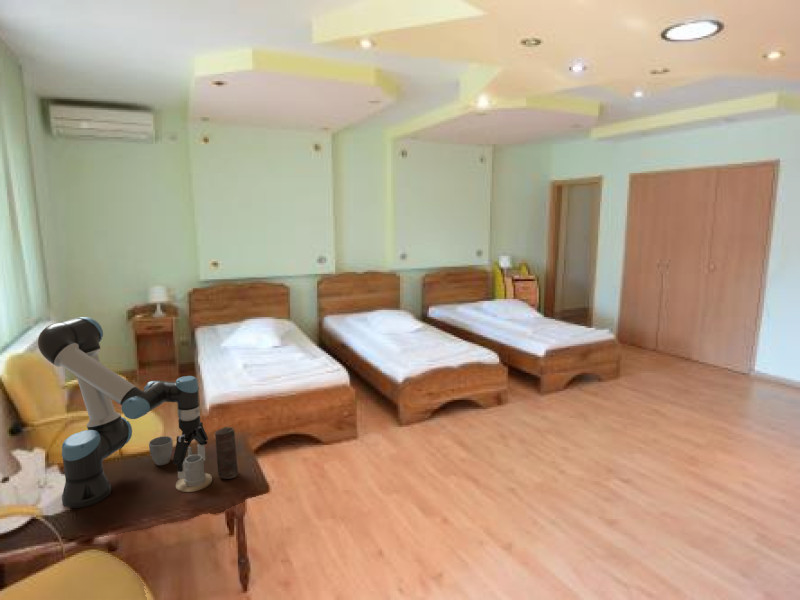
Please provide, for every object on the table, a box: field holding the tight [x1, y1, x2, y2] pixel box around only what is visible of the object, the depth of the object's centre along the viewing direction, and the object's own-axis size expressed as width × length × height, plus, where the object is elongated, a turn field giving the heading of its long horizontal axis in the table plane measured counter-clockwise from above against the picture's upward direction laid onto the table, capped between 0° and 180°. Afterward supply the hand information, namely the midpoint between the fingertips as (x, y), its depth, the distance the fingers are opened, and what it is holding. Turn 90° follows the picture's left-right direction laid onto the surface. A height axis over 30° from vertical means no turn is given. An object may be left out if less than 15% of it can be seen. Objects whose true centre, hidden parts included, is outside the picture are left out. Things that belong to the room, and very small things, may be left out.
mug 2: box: [184, 446, 206, 487], centre depth 186 cm, size 8×12×12 cm, turn 36°
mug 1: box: [148, 435, 174, 466], centre depth 202 cm, size 12×9×10 cm
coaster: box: [175, 472, 213, 493], centre depth 186 cm, size 13×13×1 cm
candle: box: [214, 426, 239, 479], centre depth 189 cm, size 8×7×20 cm
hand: (192, 468), depth 185 cm, fingers open, 13 cm apart
